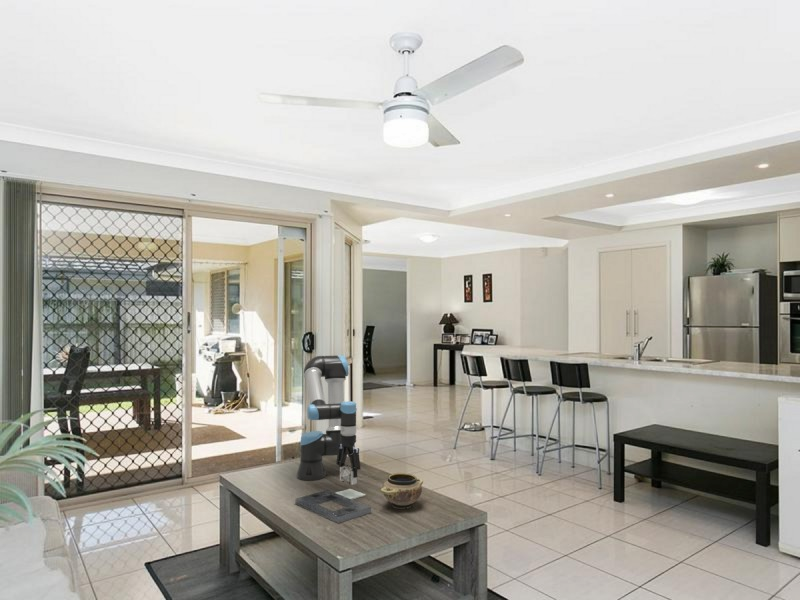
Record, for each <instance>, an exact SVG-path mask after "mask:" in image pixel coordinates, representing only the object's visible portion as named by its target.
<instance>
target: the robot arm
mask: <svg viewBox="0 0 800 600" xmlns="http://www.w3.org/2000/svg"><path fill="white" fill-rule="evenodd" d="M349 371H350V370H349V363H348V360H347V357H346V356H344V355H317V356H314V357H312V358H311V359H309V360H308V362H306V364H305V366H304V368H303V376H304V380H306V384H307V391H308V398H309V403H310V404H308V405H307V407H306V408H307V410H306V411H307V413H306V414H307V419H308V420H310V421H323V420H328V428H326V429H325V433H323V431H320V430H312V431H309V432H305V433H303V434H302V435H301V437H300V443H299V444H300V457H299V461H300V463H299V466H298V468H297V469H298V470H297V472H296V478H297V479H298V480H301V481H318V480H322V479H324V478H325V477H326V469H325V466H324V461H323V457H329V456H336V465H338V467H339V469H338V470H339V471H338V473H339V472H341V471H342V470H343V469H344V468H346V461H347V457H348V458H349V462H350V467H352V470H351V482H350V484H351V486H353V485H357V484H358V483H357V481H358V480H357V478H358V471H359V470H361V463H360V462H361V461H360V448H356V446H355V443H356V442H357V435H356V434H357V403H356V402H355V401H347V400H346V401H344V382H345V381H346V380H347V377H348V376H349V374H350V373H349ZM321 378H324V381H325V382H326V383H327V403H326V400H325V399H326V398H325V393H324V388H323V383H322V382H323V381H322V379H321ZM341 478H342V477H341V473H339V481H340V482H342V481H343V479H341Z"/></svg>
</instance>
